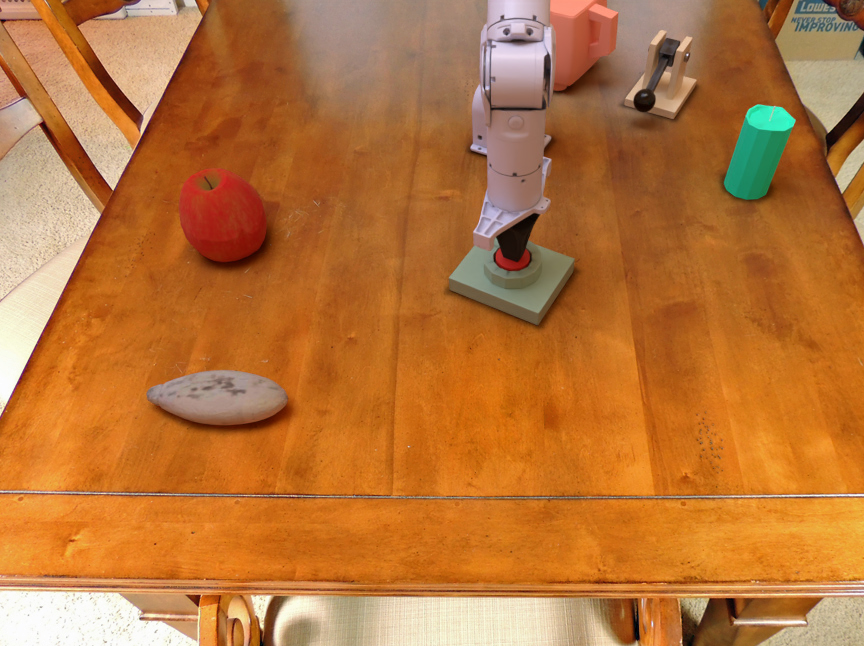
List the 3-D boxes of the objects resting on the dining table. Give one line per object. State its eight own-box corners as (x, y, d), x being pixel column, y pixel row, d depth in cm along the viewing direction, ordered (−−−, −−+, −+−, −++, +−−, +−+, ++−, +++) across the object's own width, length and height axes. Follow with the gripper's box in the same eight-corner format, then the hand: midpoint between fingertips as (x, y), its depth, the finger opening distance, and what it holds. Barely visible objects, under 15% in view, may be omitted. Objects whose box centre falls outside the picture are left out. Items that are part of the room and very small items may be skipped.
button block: (449, 290, 83) (447, 266, 80) (488, 239, 88) (488, 215, 85) (537, 325, 79) (539, 302, 76) (573, 271, 84) (576, 247, 81)
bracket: (673, 119, 103) (686, 63, 96) (623, 105, 105) (632, 50, 98) (695, 86, 108) (709, 31, 101) (647, 73, 110) (657, 18, 103)
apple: (256, 206, 93) (231, 139, 84) (286, 249, 88) (264, 183, 79) (182, 235, 89) (149, 169, 81) (210, 282, 84) (178, 217, 76)
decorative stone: (161, 380, 76) (149, 362, 73) (299, 383, 75) (291, 365, 72) (143, 427, 72) (129, 410, 69) (287, 431, 72) (279, 413, 69)
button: (489, 271, 81) (489, 260, 80) (505, 250, 83) (505, 240, 82) (519, 283, 80) (520, 272, 79) (534, 261, 82) (535, 251, 81)
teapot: (470, 66, 112) (467, -25, 101) (511, 33, 118) (513, -57, 107) (587, 108, 105) (598, 14, 93) (625, 70, 111) (640, -22, 99)
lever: (650, 119, 100) (651, 104, 97) (629, 113, 101) (629, 98, 98) (682, 55, 102) (684, 39, 99) (661, 50, 103) (663, 34, 100)
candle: (769, 202, 91) (801, 123, 82) (723, 197, 92) (750, 117, 82) (767, 174, 95) (798, 95, 85) (723, 169, 96) (749, 90, 86)
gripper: (517, 213, 64) (514, 308, 75) (580, 132, 72) (569, 229, 83) (453, 190, 67) (459, 286, 78) (520, 114, 74) (518, 211, 85)
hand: (512, 256), depth 80 cm, fingers closed, pressing on button
